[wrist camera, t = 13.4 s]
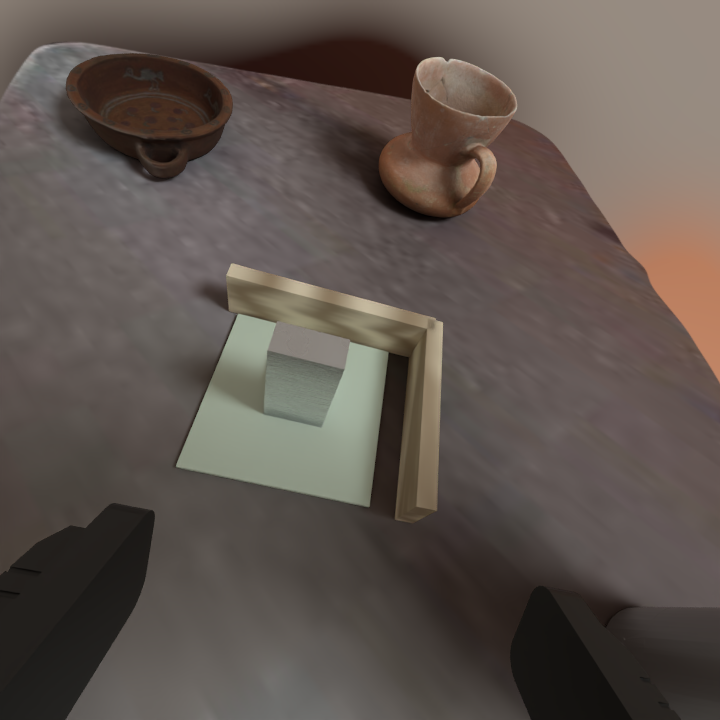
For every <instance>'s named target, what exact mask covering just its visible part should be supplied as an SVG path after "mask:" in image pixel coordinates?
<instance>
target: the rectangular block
mask: <svg viewBox="0 0 720 720" xmlns="http://www.w3.org/2000/svg"><path fill="white" fill-rule="evenodd" d="M349 345H350V340H349V339H346V338H342V337H338V336H334V335H330V334H326V333H322V332H318V331H315V330H311V329H307V328H303V327H299V326H295V325H291V324H287V323H283V322H280V321H277V323H276V326H275V329H274V332H273V335H272V338H271V341H270V344H269V347H268V350H267V364H266V380H265V396H264V412H263V414H264V415H268V416H273V417H277V418H281V419H286V420H290V421H294V422H299V423H303V424H307V425H312V426H316V427H320V428H322V426H323V423H324V421H325V418H326V415H327V413H328V410H329V408H330V405H331V403H332V400H333V398H334V395H335V393H336V390H337V388H338V385H339V382H340V380H341V377H342V375H343V372H344V370H345V365H346V360H347V355H348V350H349Z"/></svg>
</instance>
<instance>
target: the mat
mask: <svg viewBox="0 0 720 720" xmlns="http://www.w3.org/2000/svg"><path fill="white" fill-rule="evenodd" d="M275 326H276V323H274V322H270V321H266V320H262V319H258V318H254V317H250V316H246V315H242V314H238V316H237V318H236V321H235V323H234V325H233V328H232V330H231V333H230V335H229V338H228V340H227V343H226V345H225V347H224V350H223V352H222V355H221V357H220V360H219V362H218V364H217V367H216V369H215V372H214V374H213V377H212V379H211V382H210V384H209V386H208V389H207V391H206V394H205V396H204V399H203V401H202V403H201V406H200V408H199V411H198V413H197V416H196V418H195V420H194V423H193V425H192V428H191V430H190V433H189V435H188V438H187V440H186V442H185V445H184V447H183V450H182V452H181V455H180V457H179V459H178V462H177V464H176V468H180V469H185V470H190V471H194V472H199V473H204V474H209V475H214V476H218V477H223V478H228V479H233V480H238V481H243V482H247V483H252V484H257V485H262V486H267V487H272V488H276V489H281V490H286V491H291V492H296V493H301V494H305V495H310V496H315V497H320V498H325V499H329V500H334V501H339V502H344V503H349V504H354V505H358V506H363V507H370V499H371V491H372V483H373V475H374V467H375V459H376V451H377V442H378V434H379V426H380V418H381V410H382V402H383V394H384V386H385V378H386V370H387V362H388V354H389V352H387V351H383V350H379V349H375V348H371V347H367V346H364V345H360V344H356V343H352V342H350V345H349V350H348V355H347V360H346V365H345V370H344V372H343V375H342V377H341V380H340V382H339V385H338V388H337V390H336V393H335V395H334V398H333V400H332V403H331V405H330V408H329V410H328V413H327V415H326V418H325V421H324V423H323V426H322V428H320V427H316V426H312V425H307V424H303V423H299V422H294V421H290V420H286V419H281V418H277V417H273V416H268V415H264V414H263V412H264V396H265V380H266V364H267V350H268V347H269V344H270V341H271V338H272V335H273V332H274V329H275Z"/></svg>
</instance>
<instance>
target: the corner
mask: <svg viewBox="0 0 720 720" xmlns="http://www.w3.org/2000/svg"><path fill="white" fill-rule="evenodd" d="M226 279H227V292H228V305H229V312H233V313H237V314H242V315H246V316H250V317H254V318H258V319H262V320H266V321H270V322H274V323H277V321H280V322H283V323H287V324H291V325H295V326H299V327H303V328H307V329H311V330H315V331H318V332H322V333H326V334H330V335H334V336H338V337H342V338H346V339H349V340H350V342H352V343H356V344H360V345H364V346H367V347H371V348H375V349H379V350H383V351H387V352H390V353H394V354H397V355H401V356H405V357H409V364H408V375H407V386H406V397H405V409H404V420H403V431H402V443H401V454H400V465H399V477H398V488H397V499H396V511H395V520H399V521H404V522H409V523H414V522H416V521H418V520H420V519H422V518H424V517H426V516H428V515H430V514H432V513H434V512H436V511H437V492H438V461H439V430H440V399H441V368H442V338H443V322H439V321H436V320H435V319H436V318H432V317H429V316H425V315H421V314H417V313H414V312H410V311H406V310H403V309H399V308H395V307H391V306H388V305H384V304H380V303H377V302H373V301H369V300H366V299H362V298H358V297H354V296H351V295H347V294H343V293H340V292H336V291H332V290H328V289H325V288H321V287H317V286H314V285H310V284H306V283H303V282H299V281H295V280H291V279H288V278H284V277H280V276H277V275H273V274H269V273H265V272H262V271H258V270H254V269H251V268H247V267H243V266H239V265H236V264H231V266H230V268H229V271H228V273H227V275H226Z"/></svg>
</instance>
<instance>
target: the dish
mask: <svg viewBox="0 0 720 720" xmlns="http://www.w3.org/2000/svg"><path fill="white" fill-rule="evenodd" d="M66 91H67V95H68V97H69V99H70V101H71V102H72V103H73V105H74V106H75V107H76V108H77V109H78V110H79V111H80V112H81V113H82V114H84V116H85V117H86V119H87V121H88V122H89V124H90V125H91V126H92V128H93V129H94V130H95V132H96V133H97V134H98V135H99V136H100V137H101V138H102V139H103V140H104V141H105V142H106V143H107V144H109V145H110V146H112V147H113V148H115V149H116V150H118V151H120V152H122V153H124V154H126V155H129V156H131V157H133V158H136V159H139V160H140V162H141V164H142V165H143V167H144V168H145V169H146V170H147V171H148V172H149V173H150V174H151V175H153V176H155V177H158V178H170V177H173V176H176V175H178V174H179V173H181V172H182V171H183V170H184V169H185V167H186V164H187V161H188V160H192V159H195V158H198V157H200V156H202V155H204V154H206V153H208V152H209V151H211V150H212V149H213V148H214V147H215V145H216V144H217V143H218V141H219V139H220V137H221V135H222V132H223V129H224V126H225V124H226V123H227V121H228V120H229V118H230V116H231V114H232V107H233V102H232V97H231V94H230V92H229V90H228V89H227V88H226V87H225V86H224V85H223V83H222V82H221V81H220V80H218V79H217V78H216V77H214V76H213V75H212V74H210V73H209V72H207V71H205V70H203V69H201V68H199V67H197V66H195V65H193V64H190V63H187V62H184V61H181V60H177V59H173V58H168V57H163V56H158V55H150V54H134V53H130V54H111V55H105V56H98V57H94V58H92V59H90V60H87V61H85V62H83V63H81V64H79V65H77V66H76V67H75V68H73V69H72V70H71V72H70V73H69V76H68V77H67V81H66Z"/></svg>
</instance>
